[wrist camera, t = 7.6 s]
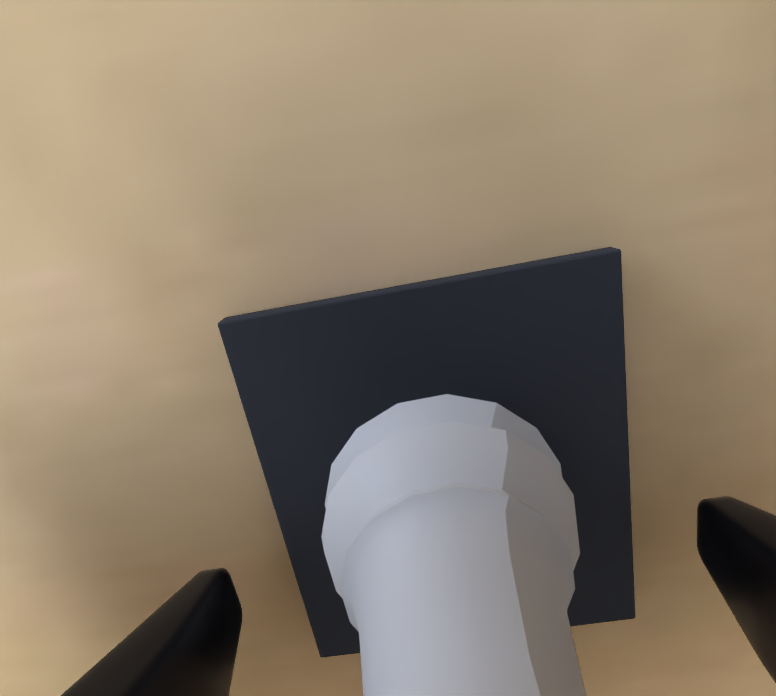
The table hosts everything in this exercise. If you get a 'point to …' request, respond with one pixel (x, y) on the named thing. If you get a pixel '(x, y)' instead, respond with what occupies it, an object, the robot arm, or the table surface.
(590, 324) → the coaster
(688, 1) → the table surface
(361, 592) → the rook chess piece
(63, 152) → the table surface
